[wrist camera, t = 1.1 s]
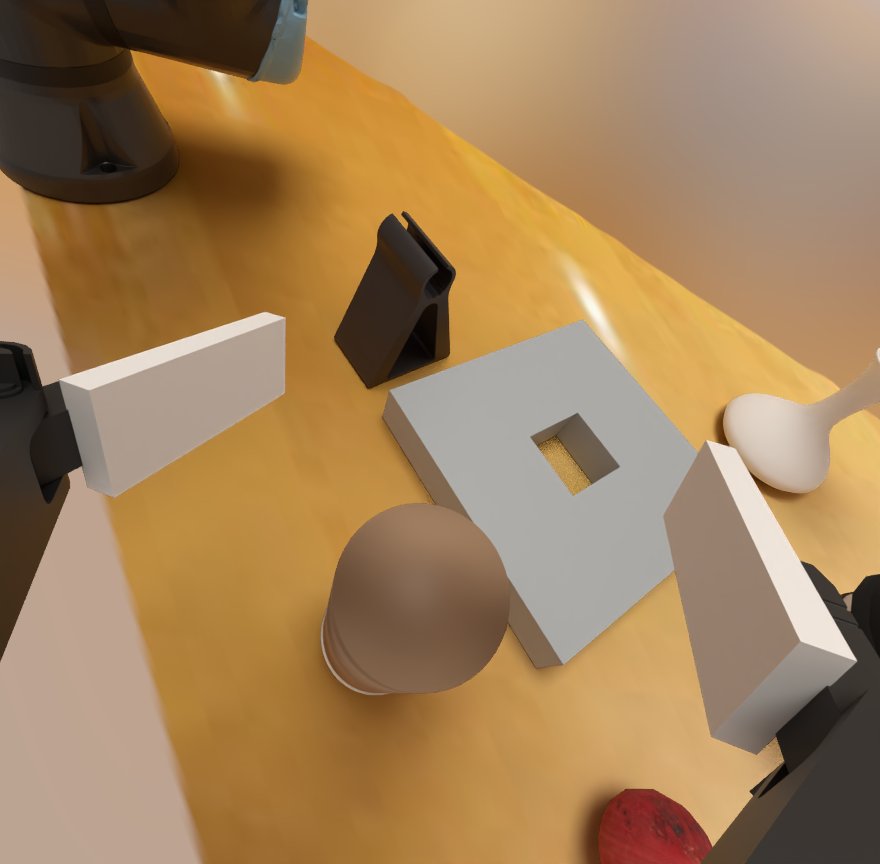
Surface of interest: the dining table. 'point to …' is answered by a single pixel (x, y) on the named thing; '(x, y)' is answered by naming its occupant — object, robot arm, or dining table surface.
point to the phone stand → (398, 306)
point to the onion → (650, 831)
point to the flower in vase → (794, 431)
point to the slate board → (551, 478)
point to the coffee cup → (866, 608)
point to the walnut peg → (415, 603)
